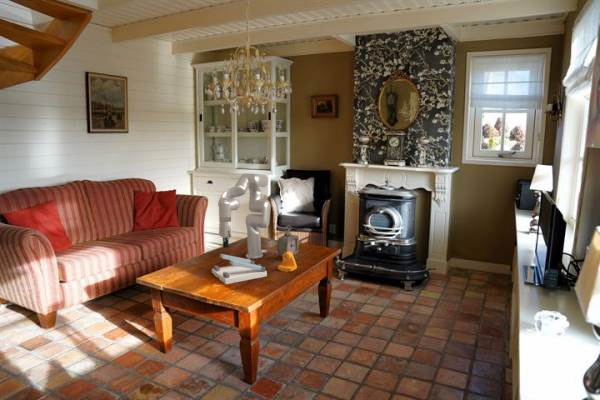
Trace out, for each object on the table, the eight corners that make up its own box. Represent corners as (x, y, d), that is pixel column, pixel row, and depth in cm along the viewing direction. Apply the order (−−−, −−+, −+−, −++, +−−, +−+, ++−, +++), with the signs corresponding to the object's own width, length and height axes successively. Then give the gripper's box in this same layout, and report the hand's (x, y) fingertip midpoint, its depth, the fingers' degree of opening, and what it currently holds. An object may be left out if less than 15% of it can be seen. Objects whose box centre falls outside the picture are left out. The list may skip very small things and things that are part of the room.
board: (251, 266, 311) (250, 257, 310) (266, 276, 291) (266, 267, 290) (211, 273, 297) (211, 264, 296) (225, 284, 277) (225, 274, 276)
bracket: (277, 270, 302) (276, 252, 300) (282, 267, 308) (282, 250, 306) (291, 272, 297) (291, 255, 295) (296, 269, 303) (296, 252, 301)
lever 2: (259, 268, 295) (260, 266, 295) (262, 271, 291) (263, 268, 291) (229, 262, 283) (230, 259, 283) (232, 265, 279) (233, 261, 279)
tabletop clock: (286, 263, 317) (286, 228, 313) (276, 260, 323) (276, 226, 319) (299, 258, 329) (298, 224, 325) (289, 256, 334) (288, 222, 330)
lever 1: (249, 262, 308) (250, 259, 308) (252, 264, 304) (253, 261, 304) (219, 256, 297) (220, 253, 297) (222, 258, 292) (223, 255, 292)
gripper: (215, 218, 297) (216, 245, 299) (223, 222, 284) (224, 250, 287) (226, 217, 300) (226, 244, 303) (235, 220, 288) (235, 249, 290)
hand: (225, 247), depth 295 cm, fingers closed
